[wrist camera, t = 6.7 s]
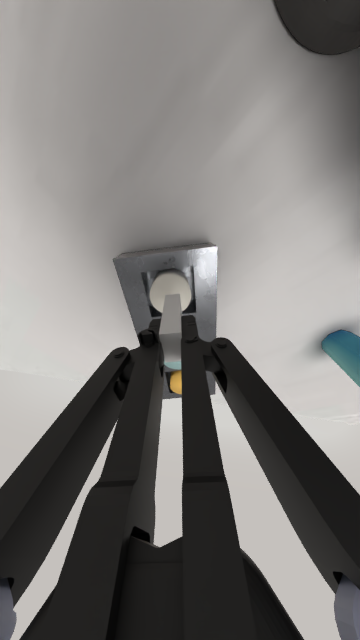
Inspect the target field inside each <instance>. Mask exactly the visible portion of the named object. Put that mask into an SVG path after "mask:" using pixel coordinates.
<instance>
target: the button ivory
mask: <svg viewBox="0 0 360 640" xmlns="http://www.w3.org/2000/svg"><path fill="white" fill-rule="evenodd" d="M179 293H180V299H181V307H182V311H184V310H185V309H186V308H187V307H188V305H189V303H190V301H191V290H190V286H189V282H188V279H187V278H186V276H185V275H184V274H183V273H182V272H181V271H179V270H176V269H165V270H163V271H161V272H159V273H158V274H157V275H156V277H155V279H154V281H153V284H152V287H151V290H150V300H151V303H152V305H153V306H154V308H155V309H157V310H158V311H159V312H161V313H162V312H163V306H164V300H165V295H170V294H179Z"/></svg>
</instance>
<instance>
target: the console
mask: <svg viewBox="0 0 360 640" xmlns="http://www.w3.org/2000/svg"><path fill="white" fill-rule="evenodd" d="M113 262H114V265H115V268H116V271H117V274H118V277H119V280H120V284H121V287H122V290H123V293H124V296H125V299H126V302H127V305H128V308H129V312H130V315H131V318H132V321H133V324H134V327H135V330H136V333H137V335H138V333H139V332H141V331H142V330H145V329H148V327H149V324H150V322H151V321H152V320H153V319H160V318H162V313H161V312H159V311H158V310H157V309H155V308H154V306H153V305H152V303H151V300H150V290H151V287H152V284H153V281H154V279H155V277H156V275H157V274H158V273H159V272H161V271H163V270H165V269H176V270H179V271H181V272H182V273H183V274H184V275H185V276H186V278H187V279H188V282H189V286H190V290H191V301H190V303H189V305H188V307H187V308H186V309H185V310H184V311H182V316H186V315H193V316H194V317H195V319H196V325H197V330H198V335H199V338H200V339H202V340H204V341H207V342H212V341H213V340H214V339H216V305H217V246H216V245H214V244H212V243H203V244H195V245H187V246H179V247H171V248H163V249H155V250H147V251H139V252H131V253H123V254H121V255H119V256H118V257H116V258H114V259H113ZM137 337H138V336H137ZM138 340H139V339H138ZM139 343H140V342H139ZM164 366H165V373H164V385H163V397H162V399H170V398H181V397H182V394H177V393H175V392H173V391H172V390H171V388H170V375H171V371H181V369H172V368H169V367H167V366H166V365H165V364H164ZM206 376H207V381H208V387H209V392H210V395H213V394H215V379H214V377H213V375H212V372H209V371H206Z"/></svg>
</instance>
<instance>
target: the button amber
mask: <svg viewBox="0 0 360 640" xmlns="http://www.w3.org/2000/svg"><path fill="white" fill-rule="evenodd" d="M170 388H171V390H172V391H173V392H175V393H177V394H182V379H181V371H171V375H170Z"/></svg>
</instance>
